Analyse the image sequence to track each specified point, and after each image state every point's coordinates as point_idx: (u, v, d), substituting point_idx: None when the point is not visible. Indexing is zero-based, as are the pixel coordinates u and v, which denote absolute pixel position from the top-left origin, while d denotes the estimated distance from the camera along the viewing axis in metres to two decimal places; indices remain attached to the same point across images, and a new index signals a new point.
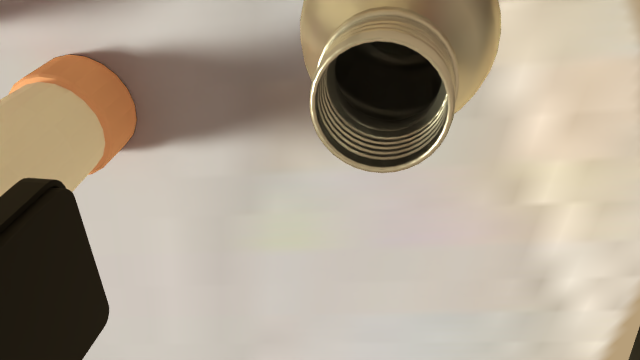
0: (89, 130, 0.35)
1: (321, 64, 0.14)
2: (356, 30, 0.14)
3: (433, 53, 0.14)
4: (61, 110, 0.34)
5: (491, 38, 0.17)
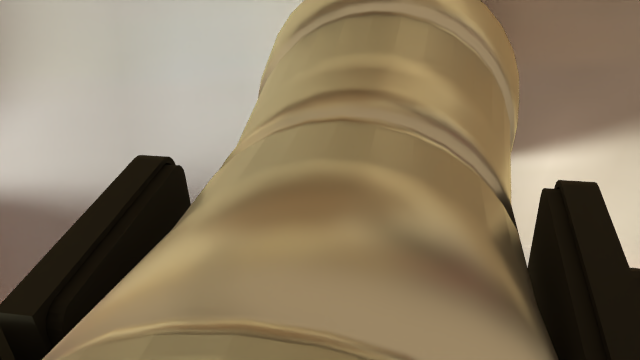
0: None
1: None
2: None
3: None
4: None
5: None
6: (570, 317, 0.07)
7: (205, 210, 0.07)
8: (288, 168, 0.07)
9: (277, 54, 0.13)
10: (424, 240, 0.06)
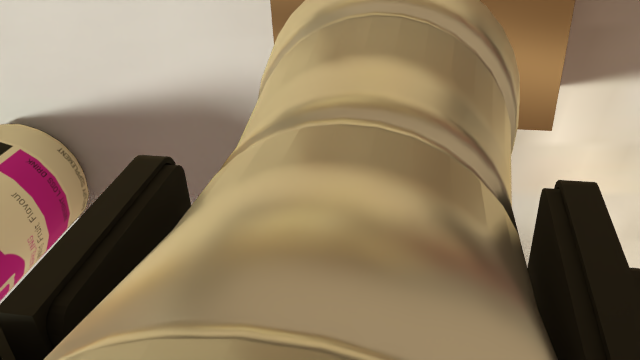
0: None
1: None
2: None
3: None
4: None
5: None
6: (570, 317, 0.07)
7: (204, 212, 0.07)
8: (287, 170, 0.07)
9: (277, 55, 0.13)
10: (424, 243, 0.06)
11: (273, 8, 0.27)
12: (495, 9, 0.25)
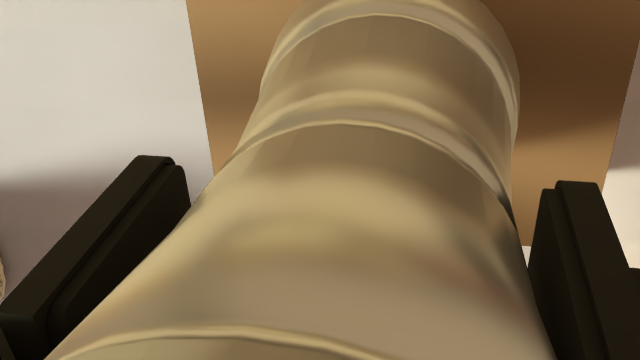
0: None
1: None
2: None
3: None
4: None
5: None
6: (570, 317, 0.07)
7: (205, 212, 0.07)
8: (287, 171, 0.07)
9: (277, 55, 0.13)
10: (424, 243, 0.06)
11: (202, 84, 0.19)
12: None
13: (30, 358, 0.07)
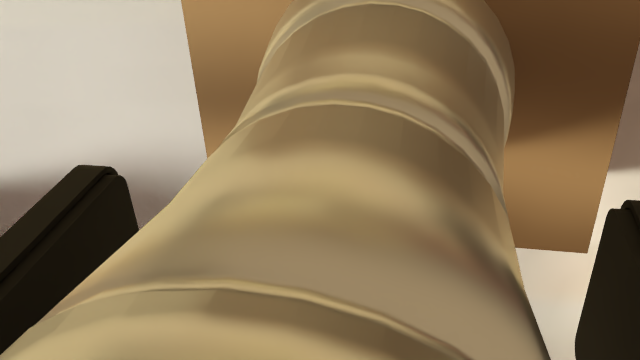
0: None
1: None
2: None
3: None
4: None
5: None
6: None
7: (197, 186, 0.07)
8: (278, 147, 0.07)
9: (274, 44, 0.13)
10: (407, 212, 0.06)
11: (198, 85, 0.19)
12: None
13: None
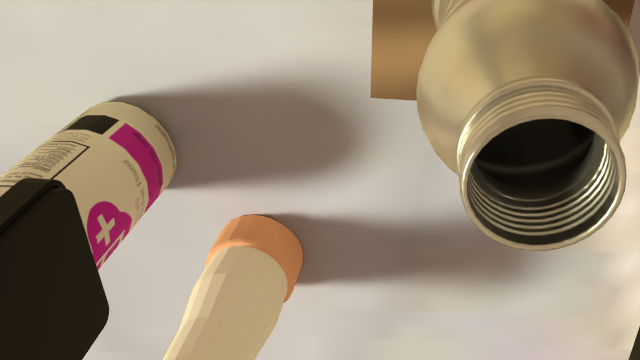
0: (282, 286, 0.44)
1: (481, 138, 0.13)
2: (520, 103, 0.13)
3: (609, 132, 0.13)
4: (266, 275, 0.43)
5: (633, 103, 0.16)
6: None
7: None
8: None
9: None
10: None
11: (375, 2, 0.32)
12: None
13: None
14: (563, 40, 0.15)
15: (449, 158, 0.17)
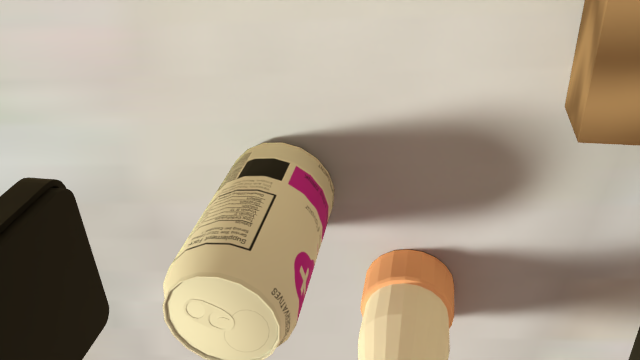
0: (447, 323, 0.44)
1: None
2: None
3: None
4: (436, 313, 0.43)
5: None
6: None
7: None
8: None
9: None
10: None
11: (599, 50, 0.31)
12: None
13: None
14: None
15: None
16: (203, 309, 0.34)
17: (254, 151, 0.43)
